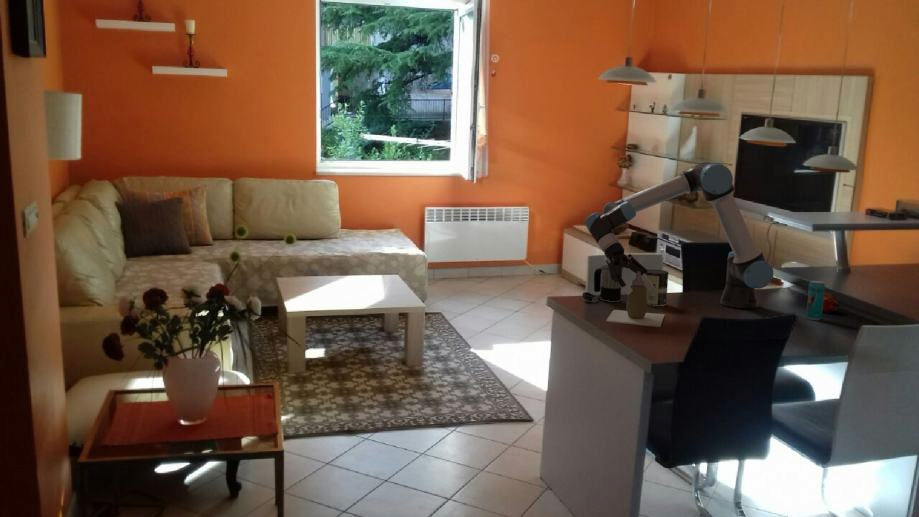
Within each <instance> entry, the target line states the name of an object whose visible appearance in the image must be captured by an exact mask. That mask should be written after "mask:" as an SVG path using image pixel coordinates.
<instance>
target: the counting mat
mask: <svg viewBox="0 0 919 517" xmlns="http://www.w3.org/2000/svg"><path fill="white" fill-rule="evenodd" d="M665 315H666V314H665V313H664V314H663V313H652V312H646V314H645V316H644V318H639V319H636V318H631V317H629V316H628V313H627V310H619V309H613V311H611V313H610V315H609V316H608V317H607V318H606V321H605V322H606V323H613V324H614V323H615V324H624V325H625V324H626V325H636V326H645V327H646V326H647V327H656V328H661V326H662V324H663V322H664V319H665V317H666V316H665Z"/></svg>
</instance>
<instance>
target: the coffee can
mask: <svg viewBox="0 0 919 517" xmlns="http://www.w3.org/2000/svg"><path fill="white" fill-rule="evenodd" d="M647 270H648V271H647V273H646V275H647V277H648V278H649V280H650V281H651V283H652V284H653V286H654V287H653V288H652V289H651V290H650V291H648V289H647V304H648V305H653V306H652V307H654V306H662V307H666V306H667V304H668V303H667V300H668V299H667V298H668V280H669V273H670V272H669V271H667V270H664V269H647ZM644 286H645V285H644ZM645 287H646V286H645ZM665 305H666V306H665Z"/></svg>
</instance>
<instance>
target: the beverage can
mask: <svg viewBox="0 0 919 517" xmlns="http://www.w3.org/2000/svg"><path fill="white" fill-rule="evenodd" d="M825 288H826V286H825V281H823V280H809V284H808V292H807V293H808V294H807V301H806V302H807V304H806V317H807V319H808V320H811V321H820V320H821V319H822V317H823V312H824V311H823V302H824V292H825V290H826V289H825Z"/></svg>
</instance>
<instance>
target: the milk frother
mask: <svg viewBox="0 0 919 517" xmlns="http://www.w3.org/2000/svg"><path fill="white" fill-rule="evenodd" d="M623 269H624V267H622V271H623ZM622 277H623V276H622ZM622 277H621V278H622ZM593 291H594V292H595V293H600V294H599V298H600V297H601V298H602V299H604V300H609V301H618V300H621V298H622V296H621V295H622V287H621V285H620V284H619V282H618V281H617V282H615V281H614V280H612V279H611V275H610V271H609V267H608V264H605V265H602V266H601V267H599V268H596V269H595V270H594V273H593ZM581 296H582V297H583V299H584V300H586V301H587V300H589V301H592V300H595V299H594V298H593V297H595V296H596V295H595V294H593V293H590V292H587V291H586V292H582V295H581ZM621 301H622V300H621Z"/></svg>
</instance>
